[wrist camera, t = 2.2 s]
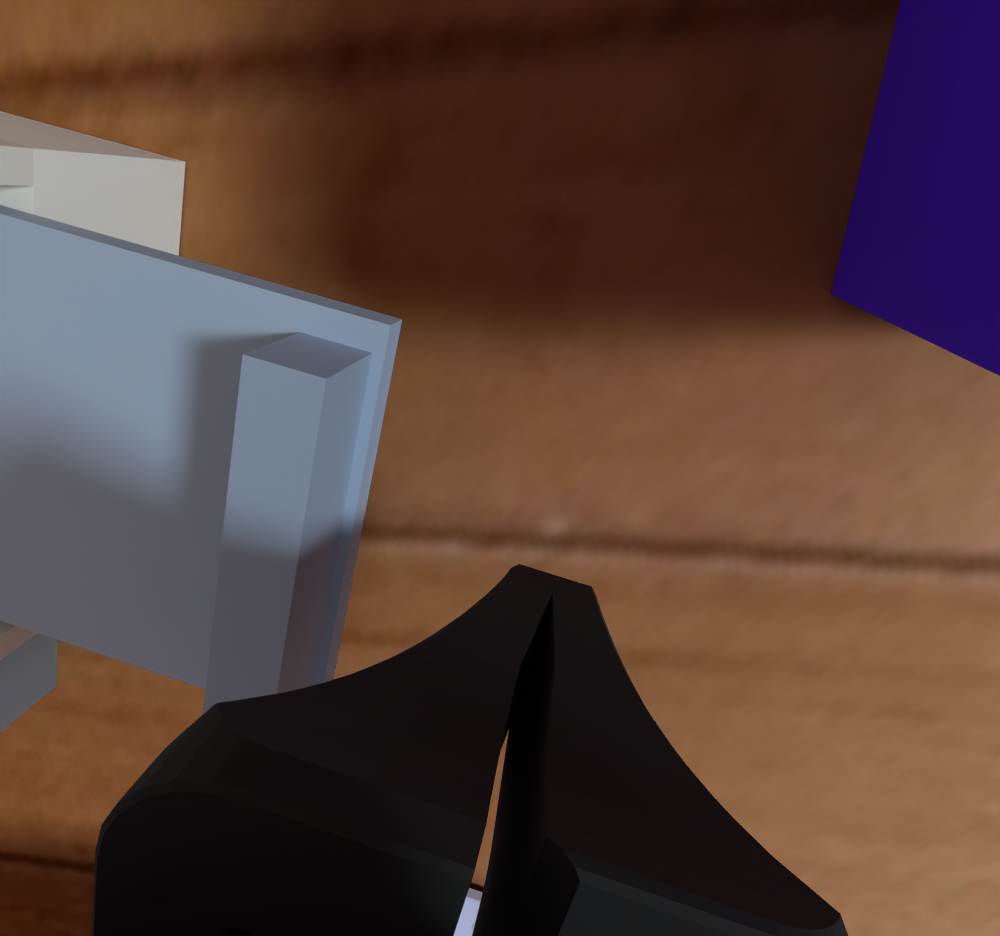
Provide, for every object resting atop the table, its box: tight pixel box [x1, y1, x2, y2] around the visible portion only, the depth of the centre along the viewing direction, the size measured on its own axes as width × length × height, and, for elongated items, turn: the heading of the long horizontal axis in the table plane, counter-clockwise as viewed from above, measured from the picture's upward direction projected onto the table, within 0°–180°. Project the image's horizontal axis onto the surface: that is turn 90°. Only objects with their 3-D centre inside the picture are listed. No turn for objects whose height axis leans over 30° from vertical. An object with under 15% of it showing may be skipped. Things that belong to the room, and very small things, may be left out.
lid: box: [0, 205, 402, 714], centre depth 13 cm, size 8×12×2 cm
